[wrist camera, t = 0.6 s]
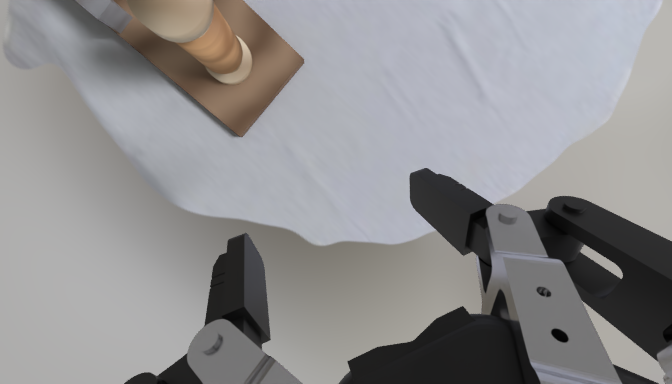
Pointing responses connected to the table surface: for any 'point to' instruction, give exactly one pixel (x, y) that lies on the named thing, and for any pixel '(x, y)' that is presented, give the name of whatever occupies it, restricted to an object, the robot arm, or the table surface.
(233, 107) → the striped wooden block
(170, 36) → the spool
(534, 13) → the table surface
